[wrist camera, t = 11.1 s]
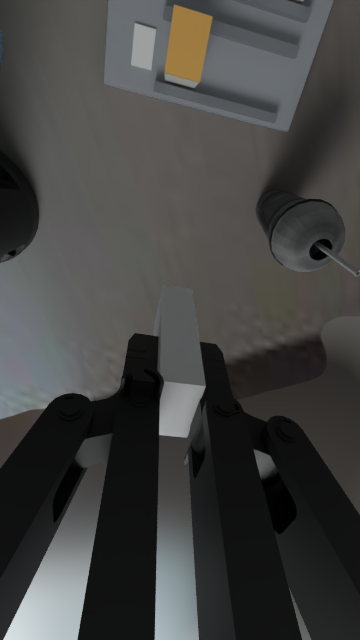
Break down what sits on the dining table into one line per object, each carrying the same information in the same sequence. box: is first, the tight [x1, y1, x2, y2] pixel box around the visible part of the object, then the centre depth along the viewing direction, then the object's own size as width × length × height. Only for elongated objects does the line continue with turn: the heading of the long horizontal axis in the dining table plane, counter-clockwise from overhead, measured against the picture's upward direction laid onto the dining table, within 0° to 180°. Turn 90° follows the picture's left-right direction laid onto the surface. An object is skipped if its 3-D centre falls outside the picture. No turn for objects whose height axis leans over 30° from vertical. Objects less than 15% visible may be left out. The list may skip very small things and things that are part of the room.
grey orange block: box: [164, 5, 213, 88], centre depth 26 cm, size 3×4×7 cm
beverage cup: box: [256, 190, 360, 276], centre depth 32 cm, size 7×7×20 cm
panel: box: [104, 0, 334, 132], centre depth 28 cm, size 20×15×4 cm
